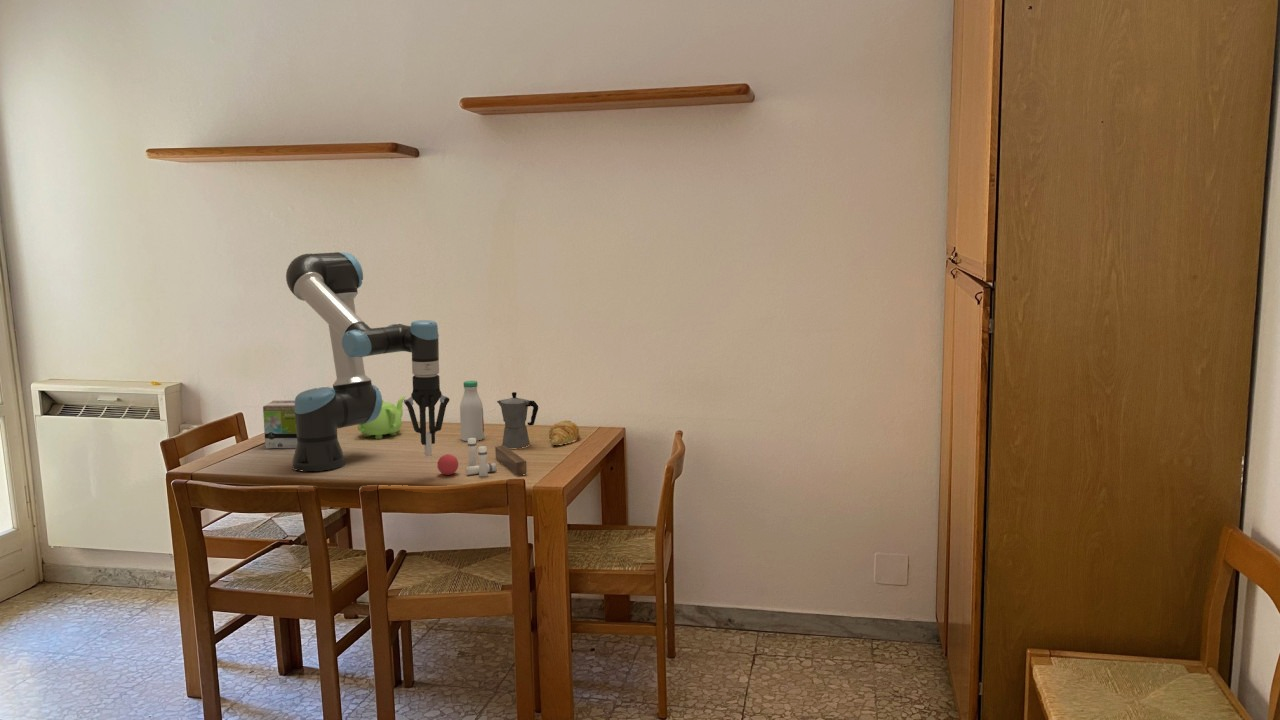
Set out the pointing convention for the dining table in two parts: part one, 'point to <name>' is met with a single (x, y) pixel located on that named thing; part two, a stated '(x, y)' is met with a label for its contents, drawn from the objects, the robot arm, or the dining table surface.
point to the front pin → (475, 469)
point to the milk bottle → (471, 413)
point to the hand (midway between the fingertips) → (428, 455)
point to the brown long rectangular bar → (511, 460)
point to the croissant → (563, 432)
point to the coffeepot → (516, 421)
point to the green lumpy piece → (384, 421)
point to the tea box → (280, 424)
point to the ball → (447, 464)
